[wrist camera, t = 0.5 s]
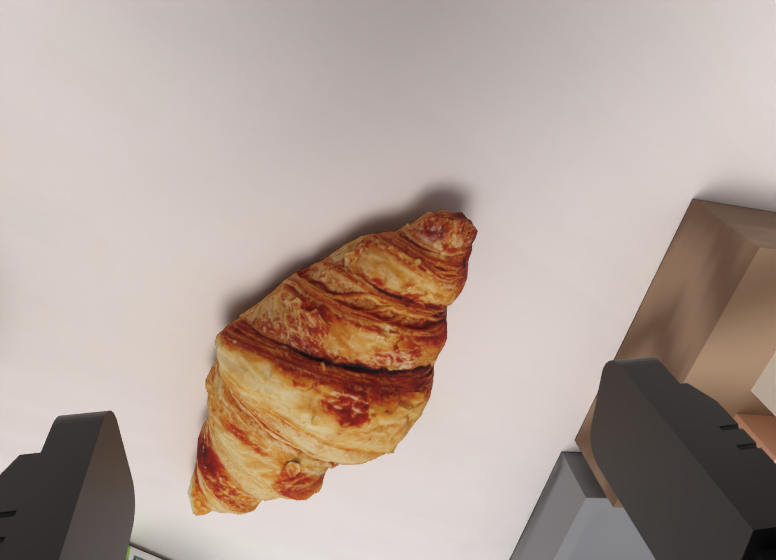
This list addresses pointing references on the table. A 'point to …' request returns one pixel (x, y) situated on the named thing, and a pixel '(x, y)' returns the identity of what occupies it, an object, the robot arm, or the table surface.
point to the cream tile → (767, 386)
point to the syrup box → (139, 555)
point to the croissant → (329, 365)
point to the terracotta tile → (760, 431)
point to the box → (578, 520)
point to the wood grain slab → (708, 311)
